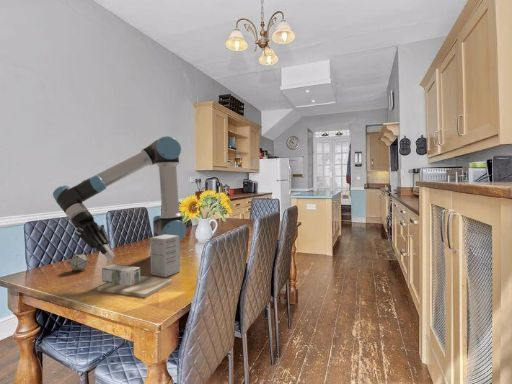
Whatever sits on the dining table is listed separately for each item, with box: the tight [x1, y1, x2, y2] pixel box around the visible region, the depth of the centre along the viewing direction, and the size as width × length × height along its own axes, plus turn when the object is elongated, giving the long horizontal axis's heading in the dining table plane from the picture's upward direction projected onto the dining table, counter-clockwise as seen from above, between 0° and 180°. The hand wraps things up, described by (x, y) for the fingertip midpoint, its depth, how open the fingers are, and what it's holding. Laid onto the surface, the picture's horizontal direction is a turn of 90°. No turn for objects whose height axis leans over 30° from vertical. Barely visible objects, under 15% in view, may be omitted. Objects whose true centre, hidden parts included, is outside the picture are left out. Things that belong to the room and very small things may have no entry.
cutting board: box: [97, 275, 173, 299], centre depth 109 cm, size 22×16×1 cm
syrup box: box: [101, 263, 141, 286], centre depth 111 cm, size 6×6×14 cm
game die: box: [66, 252, 91, 273], centre depth 129 cm, size 9×8×10 cm
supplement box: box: [149, 234, 181, 278], centre depth 125 cm, size 10×9×17 cm
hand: (112, 258), depth 112 cm, fingers closed
